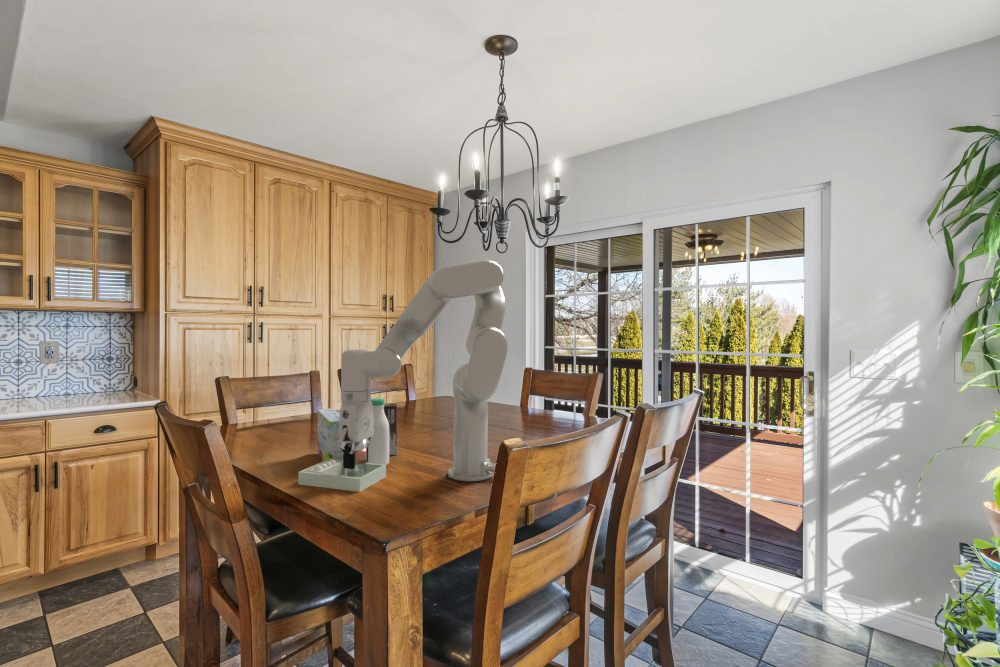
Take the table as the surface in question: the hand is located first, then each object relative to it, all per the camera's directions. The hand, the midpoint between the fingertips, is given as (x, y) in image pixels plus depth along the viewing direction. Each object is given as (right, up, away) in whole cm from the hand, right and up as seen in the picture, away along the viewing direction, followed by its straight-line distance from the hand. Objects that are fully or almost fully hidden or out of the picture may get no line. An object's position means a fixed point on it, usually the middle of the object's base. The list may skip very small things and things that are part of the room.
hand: (355, 464), depth 130 cm
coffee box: (0, -5, +32) cm, 32 cm away
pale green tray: (-4, -5, +1) cm, 6 cm away
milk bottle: (+1, -5, +18) cm, 19 cm away
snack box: (-13, -5, +20) cm, 25 cm away
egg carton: (-9, -4, +3) cm, 10 cm away
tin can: (0, -2, 0) cm, 2 cm away
